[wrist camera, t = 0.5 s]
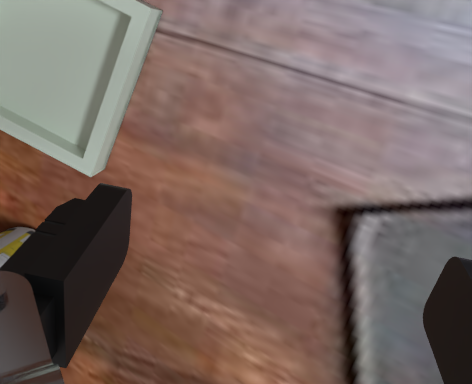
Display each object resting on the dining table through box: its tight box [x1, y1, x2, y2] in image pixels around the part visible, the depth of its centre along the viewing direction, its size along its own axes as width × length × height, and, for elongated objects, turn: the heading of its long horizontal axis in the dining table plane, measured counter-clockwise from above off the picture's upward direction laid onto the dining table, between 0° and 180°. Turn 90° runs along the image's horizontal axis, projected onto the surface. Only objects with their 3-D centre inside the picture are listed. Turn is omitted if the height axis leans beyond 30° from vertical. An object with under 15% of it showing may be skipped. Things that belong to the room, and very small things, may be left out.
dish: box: [0, 0, 163, 177], centre depth 31 cm, size 12×12×2 cm
